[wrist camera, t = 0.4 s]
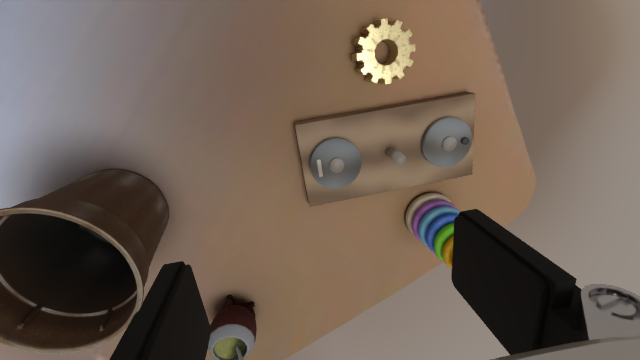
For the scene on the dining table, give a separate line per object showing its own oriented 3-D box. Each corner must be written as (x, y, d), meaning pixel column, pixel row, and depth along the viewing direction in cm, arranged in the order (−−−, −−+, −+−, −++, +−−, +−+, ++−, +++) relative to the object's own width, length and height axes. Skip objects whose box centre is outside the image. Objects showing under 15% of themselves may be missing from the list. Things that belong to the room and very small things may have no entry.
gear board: (293, 122, 42) (297, 131, 37) (466, 91, 44) (494, 96, 39) (308, 201, 47) (313, 219, 41) (464, 170, 49) (489, 183, 43)
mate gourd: (207, 300, 50) (182, 390, 36) (253, 284, 51) (247, 368, 37) (225, 332, 53) (209, 427, 39) (269, 317, 53) (268, 406, 40)
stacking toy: (435, 181, 49) (526, 246, 31) (457, 215, 52) (552, 292, 34) (394, 211, 50) (461, 290, 32) (418, 243, 52) (491, 332, 35)
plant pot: (176, 268, 48) (133, 362, 33) (55, 250, 44) (-57, 348, 29) (193, 170, 43) (151, 228, 28) (58, 141, 39) (-74, 190, 24)
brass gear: (347, 26, 39) (353, 23, 36) (404, 17, 40) (414, 14, 37) (354, 86, 42) (360, 88, 39) (406, 77, 42) (416, 78, 40)
